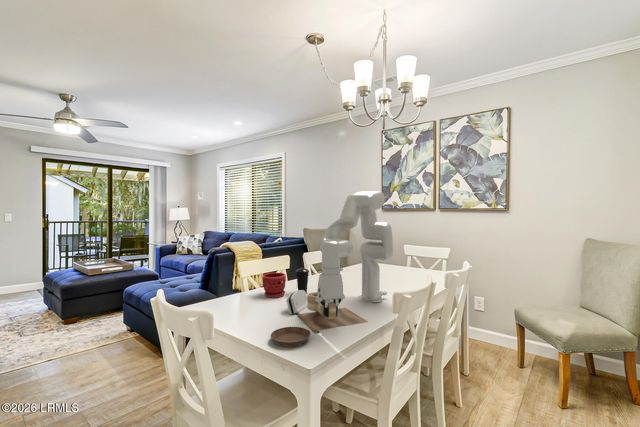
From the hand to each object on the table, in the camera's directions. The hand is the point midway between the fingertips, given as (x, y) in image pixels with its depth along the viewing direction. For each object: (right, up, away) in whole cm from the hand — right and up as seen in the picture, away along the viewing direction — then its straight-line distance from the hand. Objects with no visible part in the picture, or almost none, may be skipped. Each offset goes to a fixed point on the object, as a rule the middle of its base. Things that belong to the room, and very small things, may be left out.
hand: (330, 315), depth 127 cm
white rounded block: (-15, -5, +24) cm, 28 cm away
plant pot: (-30, -5, +48) cm, 57 cm away
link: (-3, -1, +7) cm, 8 cm away
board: (+1, -5, +9) cm, 10 cm away
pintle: (-5, -5, +13) cm, 15 cm away
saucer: (-15, -6, -12) cm, 20 cm away
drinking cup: (-14, -5, +51) cm, 53 cm away
